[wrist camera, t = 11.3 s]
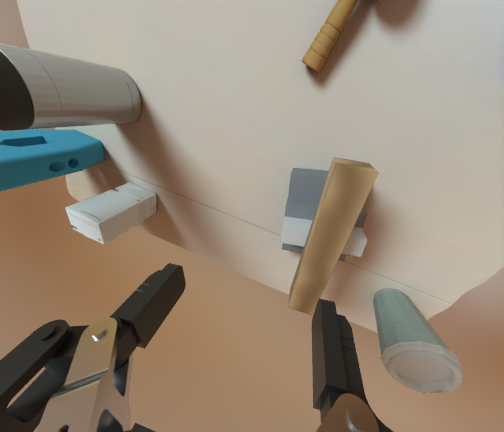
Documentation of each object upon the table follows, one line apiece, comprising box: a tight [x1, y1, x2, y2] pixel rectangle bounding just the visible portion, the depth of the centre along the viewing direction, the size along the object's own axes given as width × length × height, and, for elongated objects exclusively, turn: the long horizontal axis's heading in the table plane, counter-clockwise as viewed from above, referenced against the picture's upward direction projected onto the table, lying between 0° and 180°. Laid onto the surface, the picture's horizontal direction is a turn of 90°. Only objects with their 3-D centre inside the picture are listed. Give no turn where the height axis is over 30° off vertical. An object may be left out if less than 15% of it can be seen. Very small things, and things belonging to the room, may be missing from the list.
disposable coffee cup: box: [373, 289, 463, 393], centre depth 36 cm, size 11×11×15 cm
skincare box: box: [66, 182, 157, 245], centre depth 43 cm, size 8×6×15 cm
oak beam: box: [288, 157, 379, 315], centre depth 27 cm, size 4×24×4 cm, turn 173°
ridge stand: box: [280, 168, 367, 261], centre depth 33 cm, size 12×16×10 cm
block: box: [0, 130, 105, 191], centre depth 37 cm, size 12×5×20 cm, turn 72°
